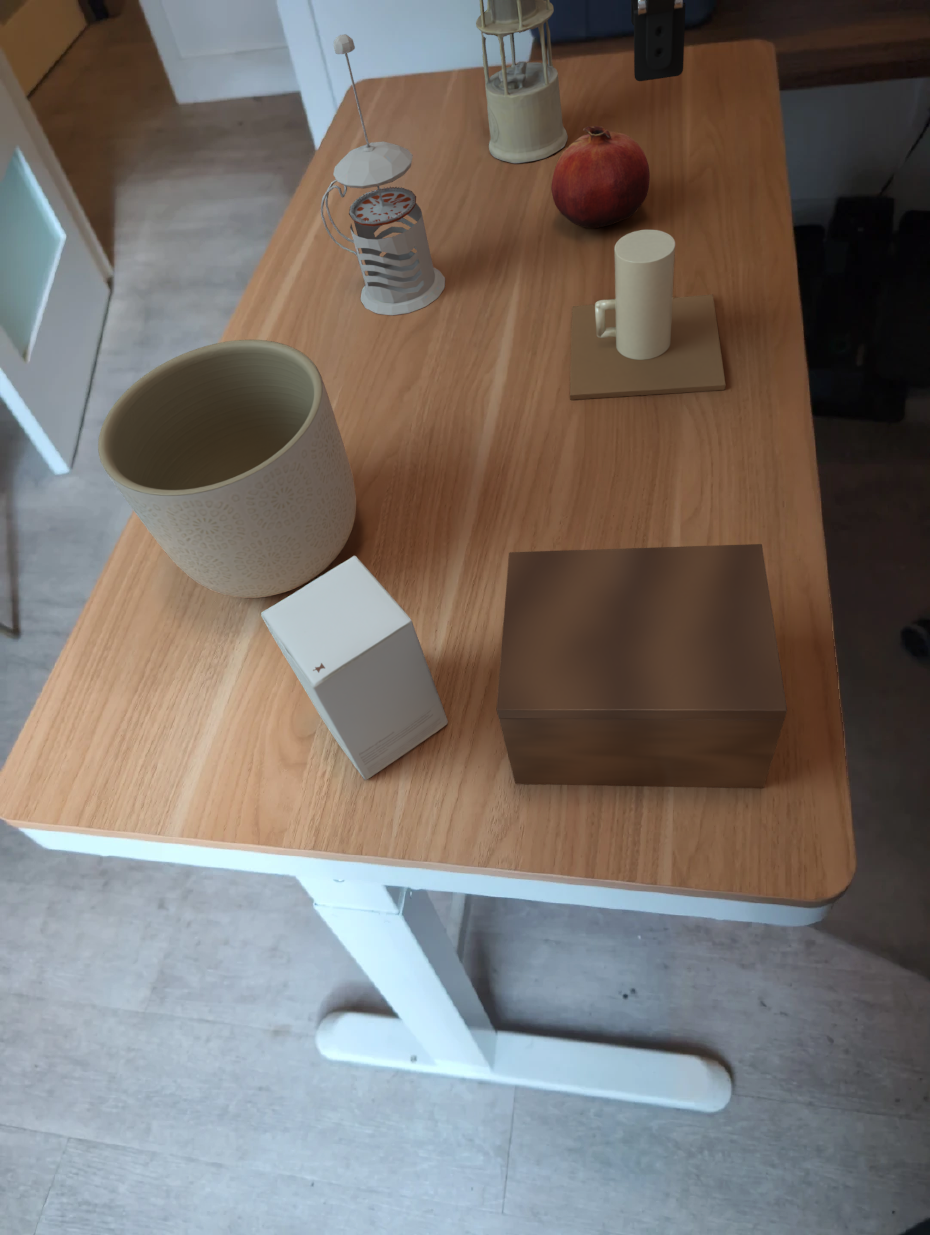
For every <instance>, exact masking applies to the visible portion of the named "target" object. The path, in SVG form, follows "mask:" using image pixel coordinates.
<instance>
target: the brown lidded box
mask: <svg viewBox="0 0 930 1235" xmlns="http://www.w3.org/2000/svg"><path fill="white" fill-rule="evenodd" d="M766 570H767V569H766V562H765V557H764V550H763V545H762V544H761V543H752V544H749V543H748V544H722V545H721V544H719V545H717V544H716V545H691V546H690V545H689V546H659V547H631V548H630V547H629V548H627V547H626V548H605V549H604V548H599V549H598V548H597V549H569V550H566V549H565V550H539V551H538V550H537V551H535V550H534V551H510V552H508V560H507V572H506V583H505V584H506V586H505V598H504V612H503V623H502V624H503V625H502V634H501V635H502V636H501V637H502V639H501V648H500V649H501V650H500V660H499V661H500V662H499V674H498V685H497V686H498V687H497V701H496V714H497V716H498V721H499V725H500V729H501V733H502V737H503V742H504V745H505V749H506V753H507V756H508V761H509V765H510V768H511V772H512V776H513V780H514V784H515V785H517V784H518V785H561V786H562V785H563V786H565V785H568V786H569V785H570V786H576V785H577V786H620V787H623V786H624V787H627V786H628V787H674V788H675V787H677V788H679V787H681V788H683V787H684V788H733V789H734V788H735V789H737V788H738V789H764V788H765V784H766V781H767V778H768V775H769V771H770V768H771V765H772V762H773V758H774V755H775V752H776V749H777V745H778V741H779V739H780V736H781V731H782V729H783V725H784V723H785V718H786V715H787V711H788V707H787V701H786V695H785V694H786V693H785V687H784V681H783V676H782V669H781V660H780V655H779V647H778V642H777V634H776V629H775V628H776V627H775V621H774V616H773V609H772V603H771V595H770V589H769V583H768V577H767V576H768V575H767V571H766Z"/></svg>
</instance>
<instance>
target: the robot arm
mask: <svg viewBox="0 0 930 1235" xmlns="http://www.w3.org/2000/svg"><path fill="white" fill-rule="evenodd" d="M630 21H631V25H632V26H633V75H634V79H635V81H637V82H645V81H652V80H660V79H666V78H674V77H679V76H681V75H682V73H683V71H684V58H685V56H684V55H685V31H686V2H684V1H683V0H630Z"/></svg>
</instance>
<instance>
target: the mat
mask: <svg viewBox="0 0 930 1235" xmlns="http://www.w3.org/2000/svg"><path fill="white" fill-rule="evenodd" d="M595 304H596V303H594V304H582V305H573V306H571V310H572V311H571V336H570V337H571V338H570V377H569V400H570V401H574V400H590V399H604V398H606V399H607V398H618V397H619V398H621V397H635V396H636V397H637V396H649V395H650V396H651V395H652V396H653V395H664V394H665V395H666V394H681V393H698V392H712V391H713V392H714V391H725V390H726V377H725V371H724V370H725V369H724V363H723V356H722V350H721V342H720V336H719V328H718V321H717V320H718V319H717V314H716V306H715V298H714V294H713V293H712V294H702V295H701V294H700V295H689V296H677V297H673V304H672V326H671V343H670V346H669V348H668V349H667V350H666V351H665V352H664V353H663V354H661V355H659V356H657V357H655V358H651V359H645V360H636V359H631V358H628V357H625V356H623V355H622V354H621V353H619V351H618V350H617V348H616V337H606V338H599V337H597V335H596V318H595ZM608 327H616V325H615V309H612V310H605V328H608Z"/></svg>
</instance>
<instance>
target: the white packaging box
mask: <svg viewBox="0 0 930 1235" xmlns="http://www.w3.org/2000/svg"><path fill="white" fill-rule="evenodd" d="M260 616H261V618H262V620H263V622H264V624H265V625H266V627H267V629H268V631H269V633H270V635H271V636H272V638H273V641H274V642H275V643H276V645H277V646H278V648H279V650H280V651H281V653H282V655H283V656H284V658H285V660H286V662H287V663H288V664H289V667H290V668H291V670H292V671H293V673H294V674H295V676H296V678H297V679H298V681H299V683H300V684H301V686H302V688H303V689H304V691H305V693H306V694H307V696H308V698H309V700H310V701H311V703H312V705H313V707H314V708H315V710H316V712H317V713H318V715H319V717H320V719H321V720H322V721H323V723H324V724H325V727H326V728H327V729H328V731H329V732H330V734H331V736H332V737H333V738H334V740H335V741H336V743H337V744H338V745H339V747H340V748H341V749H342V751H343V753H344V754H345V755H346V757H347V758H348V759H349V761H350V762H351V764H352V765H353V766H354V767H355V769H356V771H357V772H358V773H359V775H360V776H361V777H362V779H363V780H364V781H367V780H370V778H371V777H374V776H375V775H377V774H378V773H379V772H381V771H383V769H385V768H387V767H388V766H390V765H391V764H392V763H394V762H396V761H397V760H399V759H400V758H401V757H403V756H404V755H406V754H407V753H408V752H410V751H411V750H413V749H414V748H416V747H417V746H419V745H420V744H421V743H423V742H424V741H426V740H427V739H429V738H430V737H431V736H433V735H434V734H436V733H437V732H439V731H441V729H443V728H444V727H445V726H446V725H448V722H449V720H448V717H447V714H446V712H445V710H444V706H443V703H442V700H441V698H440V696H439V692H438V689H437V687H436V684H435V681H434V678H433V675H432V673H431V670H430V667H429V665H428V662H427V659H426V657H425V653H424V651H423V648H422V645H421V642H420V639H419V637H418V634H417V631H416V628H415V625H414V623H413V619H412V618H411V617H410V616H409V615H408V614H407V612H406V611H405V610H404V609H403V607H402V606H401V605H400V604H399V603H398V602H397V601H396V600H395V598H394V597H393V596H392V594H390V593H389V591H388V590H387V589H386V588H385V587H384V586H383V585H382V583H381V582H380V581H379V580H378V579H377V577H375V576H374V575H373V573H372V572H371V571H370V569H368V568H367V567H366V565H365V564H364V563H363V562H362V561H361V560H360V559H359V558H358V557H357V556H356V555H353V556H351V557H350V558H348V559H347V560H345V561H343V562H342V563H340V564H338V565H336V566H334V567H333V568H332V569H330V570H328V571H327V572H325V573H324V574H322V575H320V576H318V577H317V578H315V579H313V580H312V581H310V582H309V583H308V584H306V585H304V586H303V587H301V588H300V589H298V590H296V591H295V592H293V593H292V594H290V595H289V596H287V597H285V598H283V599H282V600H280V601H278V602H277V603H275V604H273V605H271V606H270V607H268V608H266V609H265V610H263V611H261V613H260Z"/></svg>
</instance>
